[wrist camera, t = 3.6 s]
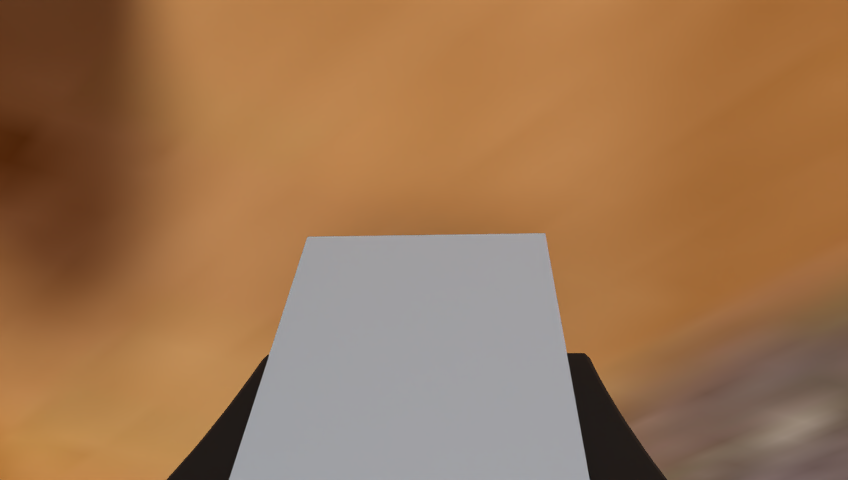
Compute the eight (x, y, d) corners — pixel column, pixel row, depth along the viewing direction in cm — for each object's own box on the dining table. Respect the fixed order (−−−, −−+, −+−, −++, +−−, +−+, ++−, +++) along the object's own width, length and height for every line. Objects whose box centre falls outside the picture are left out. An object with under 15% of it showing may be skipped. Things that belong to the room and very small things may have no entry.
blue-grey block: (544, 233, 14) (607, 577, 8) (535, 403, 16) (577, 760, 10) (307, 236, 14) (199, 572, 8) (334, 404, 17) (265, 751, 11)
